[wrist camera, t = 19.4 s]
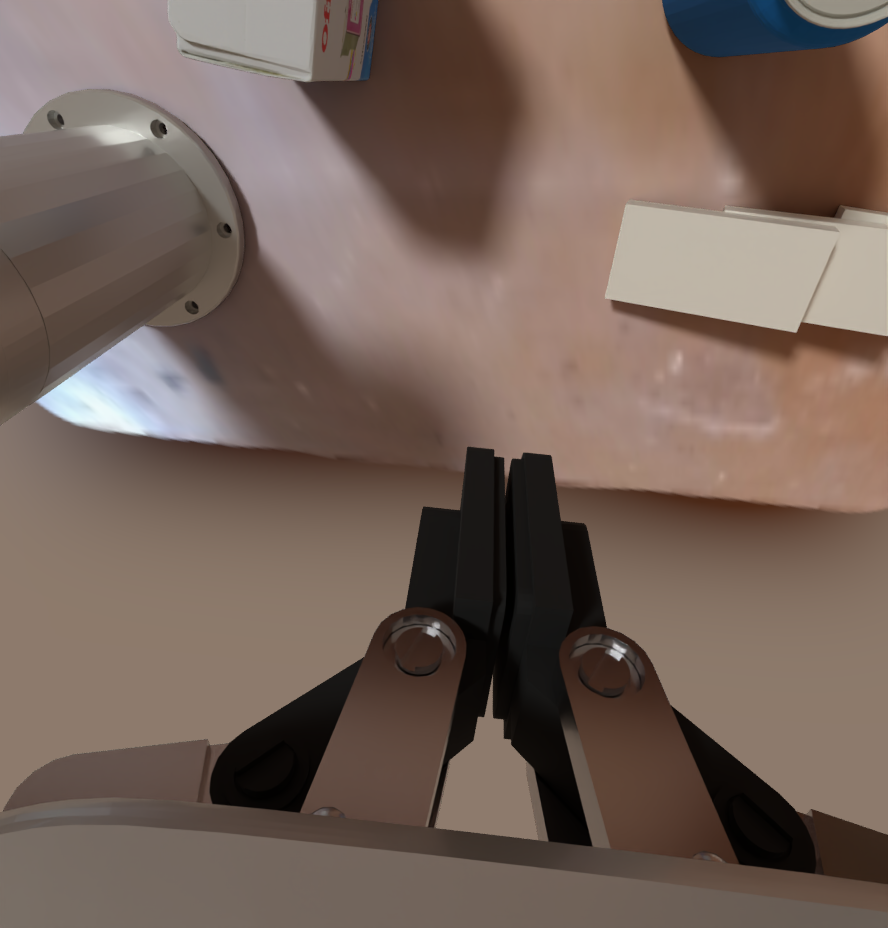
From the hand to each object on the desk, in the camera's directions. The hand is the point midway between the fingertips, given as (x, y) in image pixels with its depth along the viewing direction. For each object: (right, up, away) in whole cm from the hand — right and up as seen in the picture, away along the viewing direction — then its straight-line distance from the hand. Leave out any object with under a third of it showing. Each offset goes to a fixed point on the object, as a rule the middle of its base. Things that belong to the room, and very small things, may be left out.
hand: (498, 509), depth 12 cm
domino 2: (+14, +12, +20) cm, 27 cm away
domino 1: (+9, +13, +20) cm, 25 cm away
